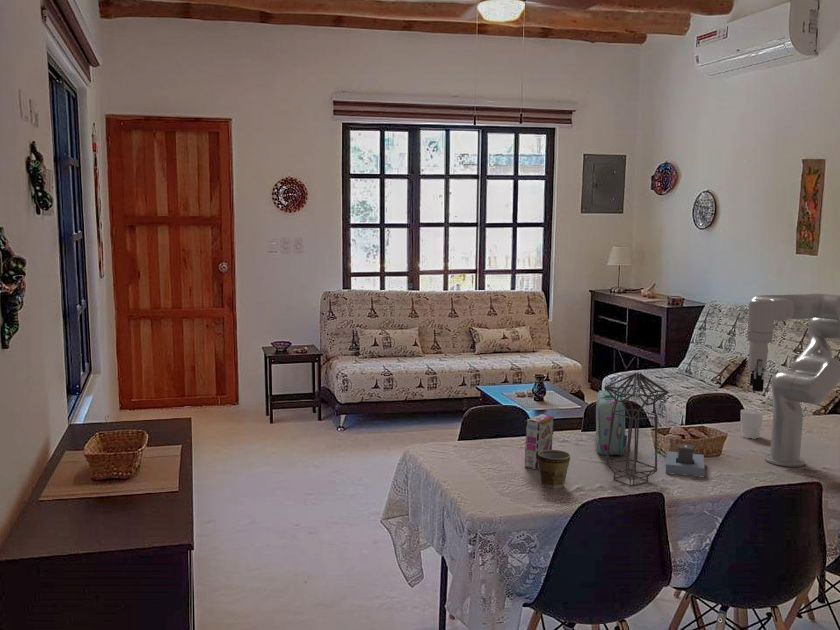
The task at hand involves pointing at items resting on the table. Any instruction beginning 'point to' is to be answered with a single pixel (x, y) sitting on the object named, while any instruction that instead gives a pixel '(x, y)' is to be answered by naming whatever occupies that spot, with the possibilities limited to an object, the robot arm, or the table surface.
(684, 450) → the block
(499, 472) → the table surface
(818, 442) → the table surface
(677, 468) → the outlet plate
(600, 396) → the lunch box
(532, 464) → the candy bar box
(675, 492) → the table surface
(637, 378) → the geometric lantern
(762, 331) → the robot arm
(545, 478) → the ceramic cup
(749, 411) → the white cup
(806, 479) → the table surface
